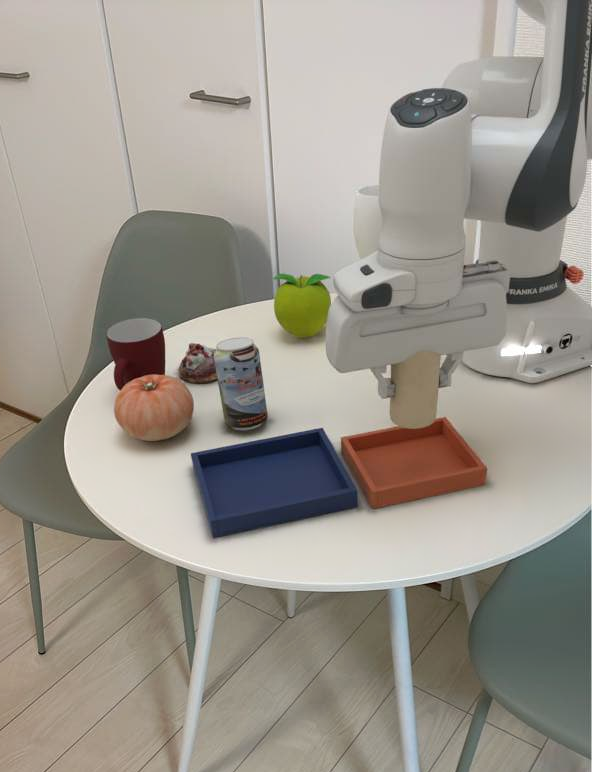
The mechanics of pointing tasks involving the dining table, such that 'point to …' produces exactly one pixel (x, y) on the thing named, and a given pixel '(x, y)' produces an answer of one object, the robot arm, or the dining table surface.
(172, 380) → the orange pumpkin
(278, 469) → the navy tray
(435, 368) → the candle
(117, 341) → the mug
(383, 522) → the dining table surface
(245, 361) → the beverage can
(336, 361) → the robot arm
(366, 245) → the cup
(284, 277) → the fruit
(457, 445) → the terracotta tray
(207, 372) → the pastry
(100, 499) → the dining table surface
